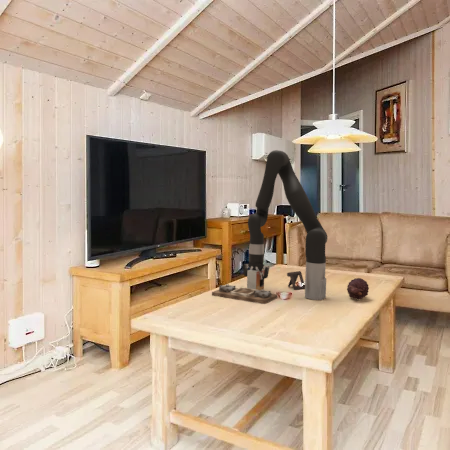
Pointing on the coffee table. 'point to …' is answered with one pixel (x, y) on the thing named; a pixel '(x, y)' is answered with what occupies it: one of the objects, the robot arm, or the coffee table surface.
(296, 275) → the portable electronic device stand
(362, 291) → the pine cone
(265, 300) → the gear board
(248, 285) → the small box
